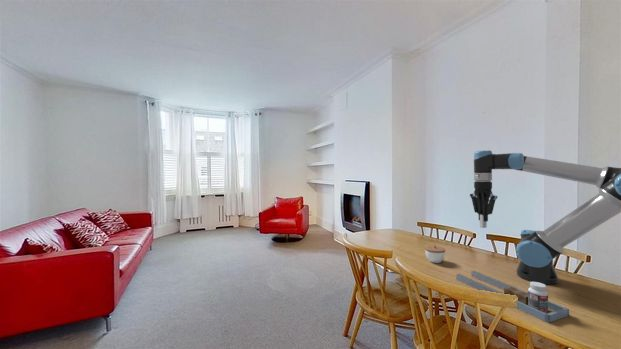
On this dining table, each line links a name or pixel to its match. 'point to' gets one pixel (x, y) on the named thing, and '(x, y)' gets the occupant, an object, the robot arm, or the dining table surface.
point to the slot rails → (482, 278)
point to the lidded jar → (435, 253)
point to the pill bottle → (538, 296)
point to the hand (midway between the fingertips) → (483, 227)
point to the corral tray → (557, 314)
